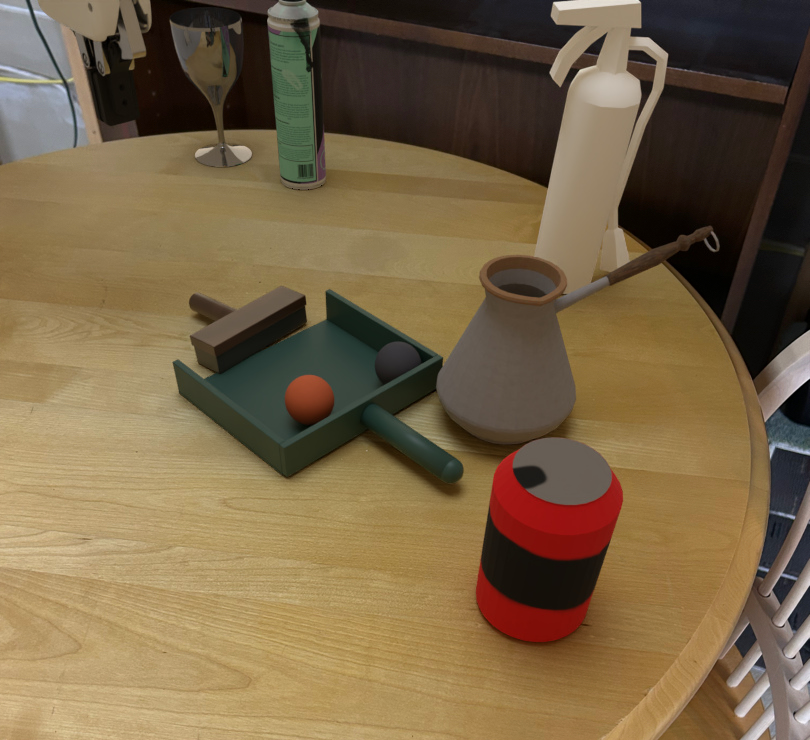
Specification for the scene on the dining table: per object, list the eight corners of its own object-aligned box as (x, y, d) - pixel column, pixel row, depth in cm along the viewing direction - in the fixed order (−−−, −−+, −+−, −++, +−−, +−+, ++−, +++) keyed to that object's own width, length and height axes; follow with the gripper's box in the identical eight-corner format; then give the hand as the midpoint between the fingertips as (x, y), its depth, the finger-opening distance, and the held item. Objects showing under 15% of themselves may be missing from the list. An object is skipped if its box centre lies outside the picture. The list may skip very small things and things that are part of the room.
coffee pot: (459, 471, 63) (479, 300, 52) (416, 384, 70) (426, 219, 59) (698, 428, 68) (763, 263, 57) (635, 351, 75) (681, 191, 64)
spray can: (335, 180, 97) (329, -16, 82) (302, 194, 94) (289, -6, 80) (304, 166, 100) (292, -27, 85) (271, 179, 97) (253, -17, 82)
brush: (153, 341, 74) (145, 314, 72) (242, 294, 80) (237, 267, 78) (219, 375, 70) (213, 347, 68) (309, 322, 76) (305, 295, 74)
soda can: (458, 572, 56) (475, 440, 47) (555, 547, 58) (589, 417, 49) (502, 658, 51) (530, 530, 42) (606, 629, 53) (654, 500, 44)
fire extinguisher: (636, 295, 82) (715, 10, 63) (519, 297, 81) (564, 8, 62) (619, 262, 86) (687, -14, 68) (508, 263, 85) (546, -16, 67)
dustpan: (178, 392, 69) (171, 361, 66) (331, 318, 77) (329, 288, 75) (376, 550, 57) (376, 519, 55) (529, 443, 66) (535, 412, 63)
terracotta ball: (279, 373, 63) (308, 412, 62) (321, 358, 65) (349, 395, 64) (271, 404, 66) (298, 441, 65) (310, 388, 68) (337, 424, 67)
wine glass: (178, 160, 100) (154, 21, 88) (213, 137, 105) (194, 3, 93) (234, 173, 98) (217, 32, 87) (267, 149, 103) (254, 13, 92)
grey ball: (396, 350, 65) (407, 397, 67) (425, 334, 68) (435, 379, 69) (360, 351, 68) (372, 396, 69) (389, 335, 70) (399, 379, 72)
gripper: (-38, -176, 57) (35, 102, 71) (69, -139, 50) (128, 160, 64) (60, -180, 61) (112, 84, 74) (172, -147, 54) (207, 138, 68)
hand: (119, 119), depth 69 cm, fingers closed
